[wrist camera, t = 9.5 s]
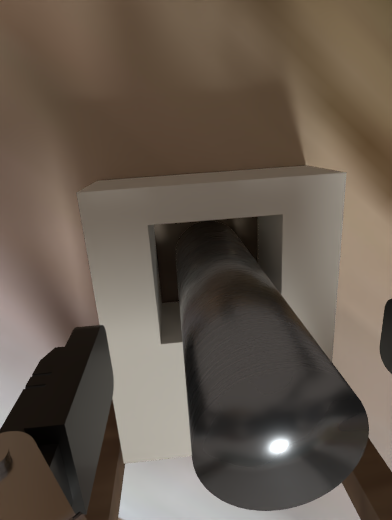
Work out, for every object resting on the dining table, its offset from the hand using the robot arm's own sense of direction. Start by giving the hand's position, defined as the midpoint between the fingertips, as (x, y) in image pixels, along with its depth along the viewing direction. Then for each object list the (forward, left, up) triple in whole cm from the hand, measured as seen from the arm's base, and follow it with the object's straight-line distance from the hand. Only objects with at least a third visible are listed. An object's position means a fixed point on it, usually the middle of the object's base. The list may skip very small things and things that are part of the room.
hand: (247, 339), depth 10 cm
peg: (0, 0, -8) cm, 8 cm away
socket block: (+3, 0, -8) cm, 9 cm away
